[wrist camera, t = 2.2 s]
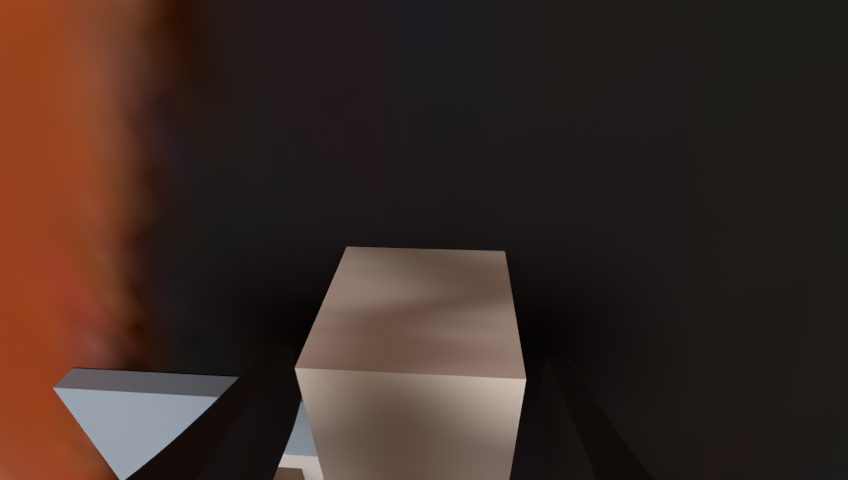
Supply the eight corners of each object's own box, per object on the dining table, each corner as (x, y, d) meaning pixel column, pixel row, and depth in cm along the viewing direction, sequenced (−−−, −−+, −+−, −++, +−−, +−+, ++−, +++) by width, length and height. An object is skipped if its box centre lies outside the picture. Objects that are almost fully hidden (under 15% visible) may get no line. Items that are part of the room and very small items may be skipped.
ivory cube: (504, 249, 13) (526, 379, 9) (493, 361, 16) (505, 502, 11) (347, 245, 13) (294, 367, 9) (361, 355, 16) (326, 489, 12)
